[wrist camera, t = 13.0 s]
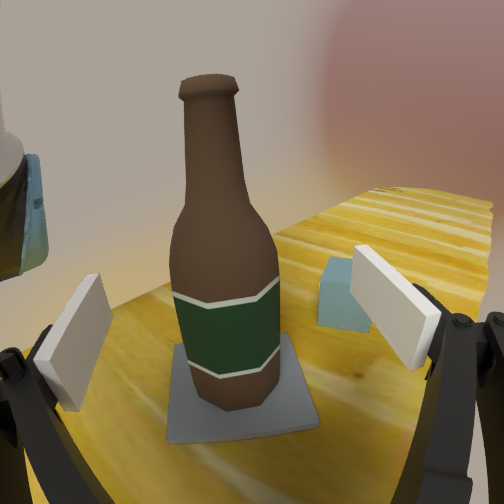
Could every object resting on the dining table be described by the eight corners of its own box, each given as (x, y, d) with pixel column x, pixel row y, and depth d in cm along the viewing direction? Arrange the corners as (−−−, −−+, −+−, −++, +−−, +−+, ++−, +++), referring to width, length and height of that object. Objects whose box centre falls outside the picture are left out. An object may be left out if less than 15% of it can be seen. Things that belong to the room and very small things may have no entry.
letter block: (372, 304, 37) (378, 262, 34) (368, 333, 32) (376, 287, 29) (325, 298, 39) (327, 256, 37) (314, 325, 34) (317, 279, 32)
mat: (168, 444, 20) (166, 439, 20) (175, 350, 31) (174, 344, 31) (318, 427, 21) (319, 421, 21) (287, 338, 32) (287, 332, 32)
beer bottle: (179, 373, 27) (129, 92, 17) (247, 342, 31) (229, 86, 21) (221, 429, 21) (168, 64, 11) (298, 385, 25) (299, 70, 15)
